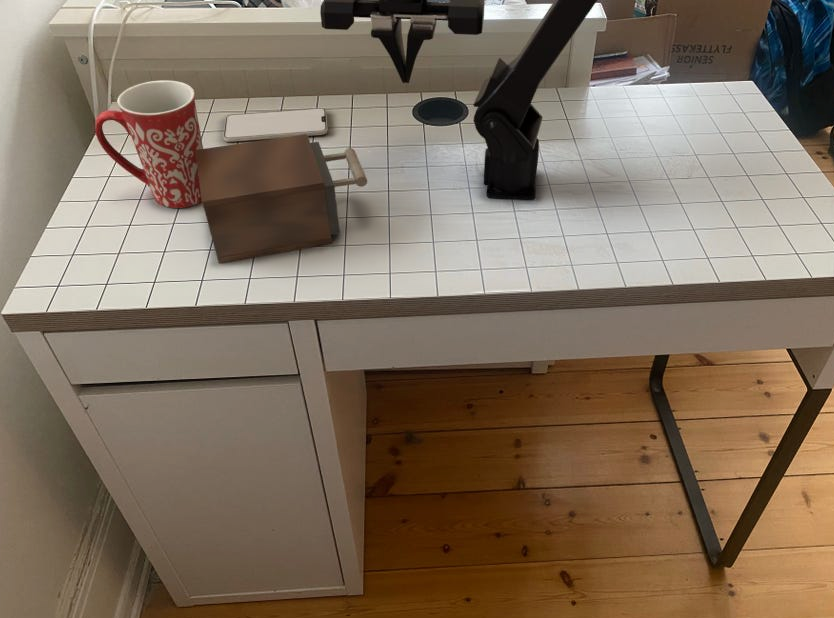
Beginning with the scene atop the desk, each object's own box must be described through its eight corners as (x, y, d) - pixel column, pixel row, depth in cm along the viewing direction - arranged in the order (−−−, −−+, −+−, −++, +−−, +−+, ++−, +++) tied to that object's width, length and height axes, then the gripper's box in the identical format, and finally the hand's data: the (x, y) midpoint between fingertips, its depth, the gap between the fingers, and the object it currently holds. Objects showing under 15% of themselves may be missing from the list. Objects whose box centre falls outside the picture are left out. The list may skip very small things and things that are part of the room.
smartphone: (225, 114, 113) (325, 107, 115) (226, 118, 114) (326, 111, 115) (222, 139, 108) (327, 131, 109) (223, 143, 108) (328, 135, 110)
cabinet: (315, 193, 99) (307, 133, 93) (332, 243, 92) (324, 182, 86) (210, 210, 97) (195, 149, 91) (218, 263, 89) (201, 201, 83)
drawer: (355, 183, 100) (351, 136, 95) (373, 227, 93) (369, 179, 88) (227, 203, 96) (216, 156, 91) (236, 250, 89) (224, 202, 84)
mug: (221, 172, 103) (198, 77, 93) (215, 210, 97) (190, 111, 87) (126, 178, 102) (93, 82, 92) (114, 217, 95) (77, 118, 86)
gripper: (489, -75, 88) (483, 57, 99) (331, -80, 89) (344, 51, 100) (484, -44, 80) (479, 96, 91) (312, -49, 81) (327, 89, 92)
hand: (406, 81), depth 94 cm, fingers closed
